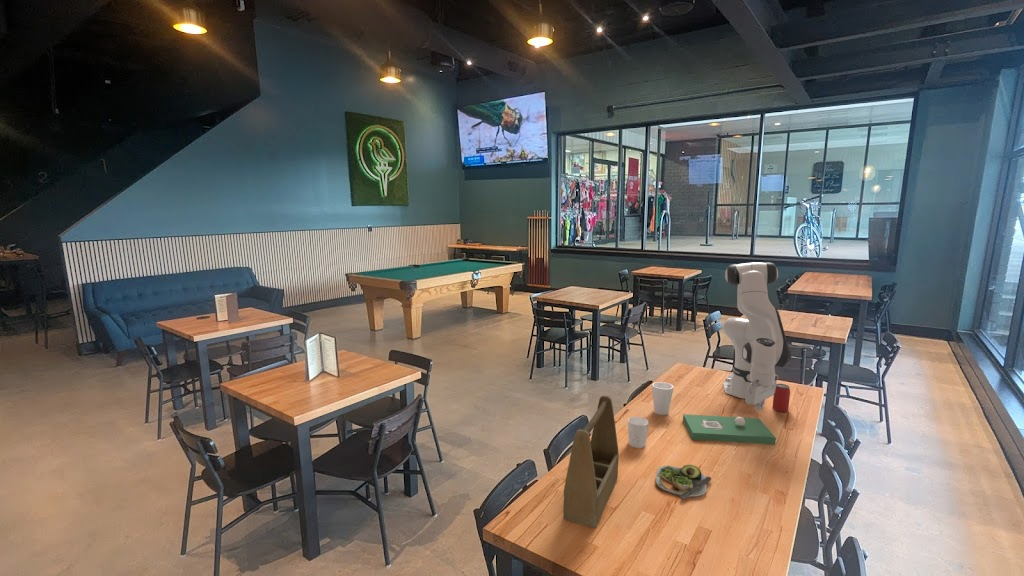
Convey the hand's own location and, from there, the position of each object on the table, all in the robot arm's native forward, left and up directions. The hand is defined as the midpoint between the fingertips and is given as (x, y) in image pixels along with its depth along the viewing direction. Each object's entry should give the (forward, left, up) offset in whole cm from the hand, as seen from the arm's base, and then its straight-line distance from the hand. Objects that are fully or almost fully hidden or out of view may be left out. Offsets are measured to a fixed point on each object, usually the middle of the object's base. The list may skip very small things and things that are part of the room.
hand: (758, 409), depth 197 cm
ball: (0, -7, -6) cm, 9 cm away
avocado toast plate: (+42, -39, -11) cm, 58 cm away
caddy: (+55, -70, -11) cm, 89 cm away
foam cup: (-17, -36, -11) cm, 41 cm away
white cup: (+16, -51, -11) cm, 54 cm away
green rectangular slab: (0, -12, -11) cm, 16 cm away
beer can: (-27, +20, -11) cm, 36 cm away
